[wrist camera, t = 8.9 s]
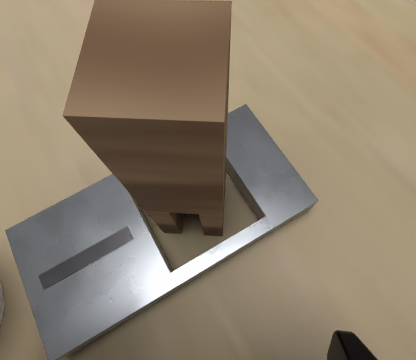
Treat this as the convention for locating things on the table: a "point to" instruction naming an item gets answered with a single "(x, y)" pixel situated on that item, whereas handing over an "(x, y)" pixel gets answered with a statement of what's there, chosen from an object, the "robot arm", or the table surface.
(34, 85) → the table surface
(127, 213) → the metal plate with hole
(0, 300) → the white cup
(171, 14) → the brown block
